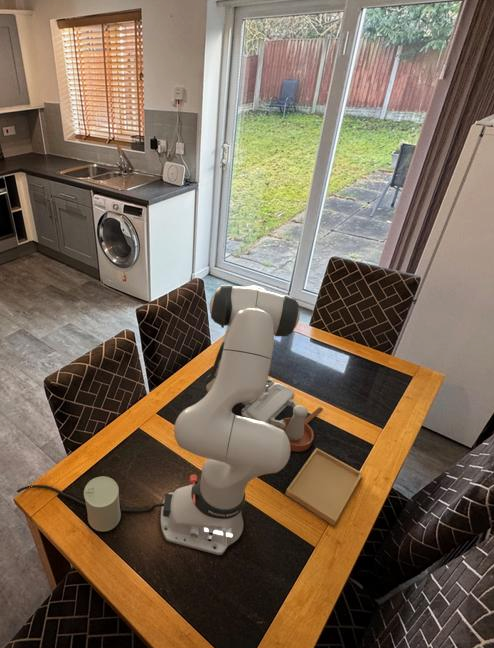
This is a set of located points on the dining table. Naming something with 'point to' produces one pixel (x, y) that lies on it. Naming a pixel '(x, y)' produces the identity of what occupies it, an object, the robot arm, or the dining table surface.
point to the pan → (304, 441)
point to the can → (102, 503)
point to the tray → (324, 485)
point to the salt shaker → (296, 424)
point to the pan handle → (313, 415)
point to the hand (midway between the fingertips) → (292, 418)
